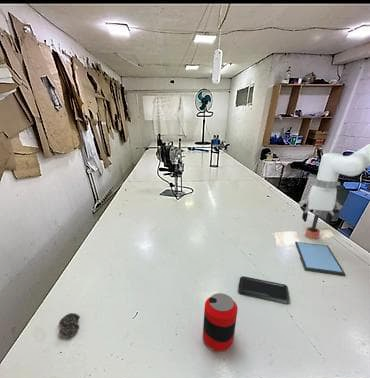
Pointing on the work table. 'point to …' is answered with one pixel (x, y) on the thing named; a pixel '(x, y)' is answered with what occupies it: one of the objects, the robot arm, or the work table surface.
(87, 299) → the work table surface
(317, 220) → the stylus
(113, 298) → the work table surface
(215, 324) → the soda can
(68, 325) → the corroded twin loop
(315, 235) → the pen cup
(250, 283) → the phone
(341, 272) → the tablet
